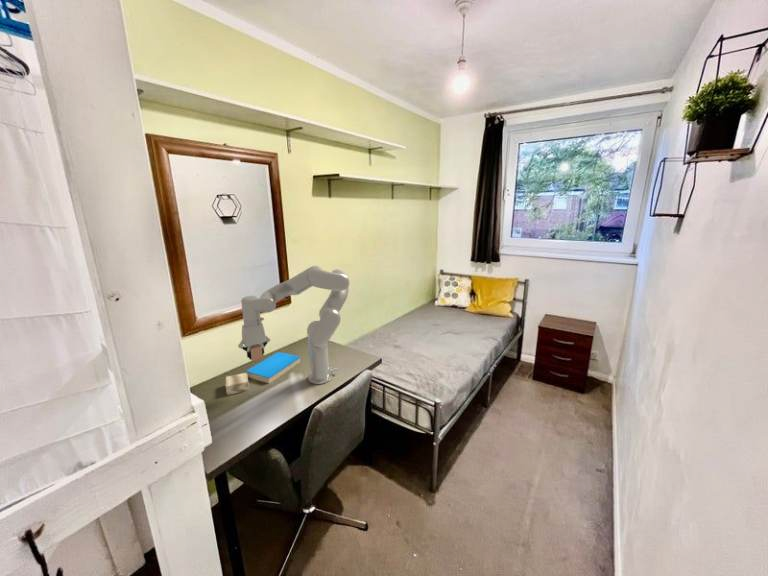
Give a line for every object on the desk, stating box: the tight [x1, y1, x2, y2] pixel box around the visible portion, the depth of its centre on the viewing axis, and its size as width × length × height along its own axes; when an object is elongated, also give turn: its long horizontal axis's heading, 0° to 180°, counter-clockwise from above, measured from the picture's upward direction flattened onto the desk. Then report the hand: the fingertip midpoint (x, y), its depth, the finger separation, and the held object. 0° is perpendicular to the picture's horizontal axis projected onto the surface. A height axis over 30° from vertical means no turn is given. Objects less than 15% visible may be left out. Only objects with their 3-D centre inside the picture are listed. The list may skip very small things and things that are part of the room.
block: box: [250, 344, 264, 362], centre depth 156 cm, size 5×5×6 cm
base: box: [225, 372, 250, 396], centre depth 163 cm, size 10×10×5 cm
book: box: [245, 351, 301, 384], centre depth 180 cm, size 17×4×25 cm
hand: (256, 356), depth 157 cm, fingers closed on block, 5 cm apart
